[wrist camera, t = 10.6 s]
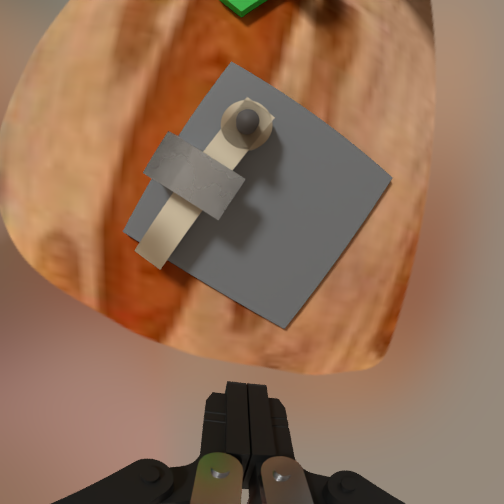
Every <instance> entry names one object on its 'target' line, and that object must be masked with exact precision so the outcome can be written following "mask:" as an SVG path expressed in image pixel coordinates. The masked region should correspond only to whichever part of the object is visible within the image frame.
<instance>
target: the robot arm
mask: <svg viewBox="0 0 504 504" xmlns="http://www.w3.org/2000/svg"><path fill="white" fill-rule="evenodd" d="M242 489H249V499H248V502H247V504H405V503H403V502H402V501H400V500H398V499H397V498H395V497H393V496H392V495H390V494H389V493H387V492H385V491H384V490H382V489H381V488H379V487H377V486H376V485H374V484H373V483H371V482H370V481H368V480H367V479H365V478H364V477H362V476H361V475H359V474H357V473H355V472H352V471H339V472H336V473H335V474H333V475H332V476H331V477H327V476H322V475H317V474H313V473H310V472H308V471H306V470H304V469H303V468H302V467H301V465H300V464H299V463H298V462H297V461H296V460H295V457H294V452H293V447H292V443H291V436H290V431H289V428H288V421H287V415H286V410H285V407H284V406H283V405H282V403H281V402H280V400H279V399H275V398H268V393H267V387H266V385H259V384H249V383H247V385H246V383H238V382H230V381H227V385H226V390H225V394H222V393H215V392H213V393H212V394H211V395H210V396H209V398H208V399H207V400H206V406H205V414H204V423H203V431H202V442H201V451H200V456H199V457H198V458H197V459H196V461H194V462H193V463H191V464H189V465H186V466H181V467H170V468H169V467H168V466H167V465H165V464H164V463H162V462H160V461H158V460H154V459H141V460H138V461H136V462H134V463H132V464H130V465H128V466H126V467H125V468H123V469H121V470H119V471H117V472H115V473H113V474H112V475H110V476H108V477H106V478H104V479H102V480H100V481H98V482H96V483H94V484H92V485H90V486H88V487H86V488H84V489H82V490H80V491H78V492H76V493H74V494H72V495H69V496H67V497H65V498H63V499H60V500H58V501H56V502H54V503H51V504H241V494H242Z"/></svg>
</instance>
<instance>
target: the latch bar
mask: <svg viewBox="0 0 504 504" xmlns="http://www.w3.org/2000/svg"><path fill="white" fill-rule="evenodd" d="M274 118H275V117H274V116H272V115H271V114H270V113H269V112H268V110H267V109H266V108H265V107H264V106H263V105H261V104H260V103H258V102H255V101H252V100H251V99H249V98H248V97H247V98H246V99H245V100H242V101H238V102H236V103H234V104H232V105H231V106H229V107H228V108H227V109H226V111H225V112H224V114H223V116H222V119H221V129H220V131H219V132H218V133H217V134H216V136H215V137H214V138H213V140H212V141H211V142H210V143H209V145H208V146H207V147H206V149H205V150H204V151H203V152H204V153H205V154H207V155H209V156H210V157H212V158H213V159H215V160H217V161H218V162H220V163H221V164H223V165H225V166H226V167H228V168H229V169H231V170H232V171H233V169H234V168H235V167H236V165H237V164H238V163H239V162H240V160H241V159H242V158H243V156H244V155H245V154H246V153H247V151H250V150H254V149H256V148H258V147H260V146H261V145H262V144H264V143H265V142H266V141H267V139H268V138H269V136H270V134H271V132H272V126H273V124H272V121H273V119H274ZM201 212H202V210H201V209H200V208H198V207H197V206H195V205H193V204H192V203H190V202H189V201H187V200H185V199H184V198H182V197H181V196H179V195H178V194H176V193H174V192H173V194H172V195H171V196H170V198H169V199H168V201H167V202H166V204H165V205H164V207H163V208H162V210H161V211H160V212H159V214H158V215H157V217H156V218H155V220H154V221H153V223H152V224H151V226H150V227H149V229H148V231H147V232H146V234H145V235H144V237H143V238H142V240H141V241H140V243H139V244H138V246H137V248H136V249H135V252H137V253H138V254H139V255H141V256H142V257H144V258H145V259H146V260H148V261H149V262H150V263H152V264H153V265H155V266H156V267H157V268H159V269H160V270H161V268H162V267H163V265H164V264H165V262H166V261H167V259H168V258H169V257H170V255H171V254H172V252H173V251H174V249H175V248H176V246H177V245H178V244H179V242H180V241H181V239H182V238H183V237H184V235H185V234H186V232H187V231H188V230H189V228H190V227H191V225H192V224H193V223H194V221H195V220H196V219H197V217H198V216H199V214H200V213H201Z"/></svg>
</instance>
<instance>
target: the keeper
mask: <svg viewBox="0 0 504 504" xmlns="http://www.w3.org/2000/svg"><path fill="white" fill-rule="evenodd" d="M143 173H144V174H146V175H147V176H149V177H150V178H152V179H154V180H155V181H157V182H158V183H160V184H162V185H163V186H165V187H166V188H168V189H170V190H171V191H173V192H174V193H176V194H178V195H179V196H181V197H182V198H184V199H185V200H187V201H189V202H190V203H192V204H193V205H195V206H197V207H198V208H200V209H201V210H203V211H204V212H206V213H208V214H209V215H211V216H212V217H214V218H216V219H217V220H219V219H220V217H221V216H222V214H223V213H224V211H225V210H226V208H227V207H228V205H229V204H230V202H231V200H232V199H233V197H234V196H235V194H236V193H237V191H238V190H239V188H240V187H241V185H242V184H243V182H244V181H245V178H243V177H242V176H240V175H239V174H237V173H235V172H234V171H232V170H231V169H229V168H228V167H226V166H225V165H223V164H221V163H220V162H218V161H217V160H215V159H213V158H212V157H210V156H209V155H207V154H205V153H204V152H202V150H200V149H199V148H197V147H195V146H194V145H192V144H191V143H189V142H187V141H186V140H184V139H182V138H181V137H179V136H177V135H175V134H173V133H171V132H169V131H168V132H167V134H166V136H165V137H164V139H163V140H162V142H161V144H160V145H159V147H158V148H157V150H156V152H155V153H154V155H153V157H152V158H151V160H150V162H149V163H148V165H147V167H146V168H145V170H144V172H143Z"/></svg>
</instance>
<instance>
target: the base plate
mask: <svg viewBox="0 0 504 504" xmlns="http://www.w3.org/2000/svg"><path fill="white" fill-rule="evenodd" d="M247 97H248V98H249V99H251V100H252V101H255V102H258V103H260V104H261V105H263V106H264V107H265V108H266V109H267V110H268V112H269V113H270V114H271V115H272V116H274V117H275V118H274V119H273V121H272V124H273V126H272V132H271V134H270V136H269V138H268V139H267V141H266V142H265V143H264V144H262V145H261V146H260V147H258V148H256V149H254V150H250V151H247V153H246V154H245V155H244V156H243V158H242V159H241V160H240V162H239V163H238V164H237V165H236V167H235V168H234V169H233V171H234V172H235V173H237V174H239V175H240V176H242V177H243V178H245V181H244V182H243V184H242V185H241V187H240V188H239V190H238V191H237V193H236V194H235V196H234V197H233V199H232V200H231V202H230V204H229V205H228V207H227V208H226V210H225V211H224V213H223V214H222V216H221V217H220V219H219V220H217V219H216V218H214V217H212V216H211V215H209V214H208V213H206V212H204V211H203V210H202V212H201V213H200V214H199V216H198V217H197V219H196V220H195V221H194V223H193V224H192V225H191V227H190V228H189V230H188V231H187V232H186V234H185V235H184V237H183V238H182V239H181V241H180V242H179V244H178V245H177V246H176V248H175V249H174V251H173V252H172V254H171V255H170V257H169V258H168V259H167V260H168V261H170V262H171V263H173V264H175V265H176V266H178V267H179V268H181V269H183V270H184V271H186V272H188V273H189V274H191V275H192V276H194V277H196V278H197V279H199V280H201V281H202V282H204V283H206V284H207V285H209V286H211V287H212V288H214V289H216V290H217V291H219V292H221V293H223V294H224V295H226V296H228V297H229V298H231V299H233V300H234V301H236V302H238V303H240V304H241V305H243V306H245V307H247V308H248V309H250V310H252V311H253V312H255V313H257V314H259V315H261V316H262V317H264V318H266V319H268V320H269V321H271V322H273V323H275V324H276V325H278V326H280V327H282V328H284V329H285V327H286V326H287V325H288V324H289V322H290V321H291V320H292V319H293V317H294V316H295V315H296V314H297V312H298V311H299V310H300V308H301V307H302V306H303V304H304V303H305V302H306V301H307V299H308V298H309V297H310V295H311V294H312V293H313V291H314V290H315V289H316V287H317V286H318V285H319V283H320V282H321V281H322V279H323V278H324V277H325V275H326V274H327V273H328V271H329V270H330V268H331V267H332V266H333V264H334V263H335V262H336V260H337V259H338V257H339V256H340V255H341V253H342V252H343V250H344V249H345V248H346V246H347V245H348V243H349V242H350V240H351V239H352V238H353V236H354V235H355V233H356V232H357V230H358V229H359V228H360V226H361V225H362V223H363V222H364V220H365V219H366V217H367V216H368V214H369V213H370V211H371V210H372V208H373V207H374V205H375V204H376V202H377V201H378V199H379V198H380V196H381V195H382V193H383V192H384V190H385V189H386V187H387V186H388V184H389V182H390V181H391V179H392V177H391V176H390V175H389V174H388V173H387V172H386V171H384V170H383V169H382V168H381V167H380V166H379V165H378V164H376V163H375V162H374V161H373V160H372V159H371V158H369V157H368V156H367V155H366V154H365V153H363V152H362V151H361V150H360V149H358V148H357V147H356V146H355V145H353V144H352V143H351V142H350V141H348V140H347V139H346V138H345V137H343V136H342V135H341V134H340V133H338V132H337V131H336V130H334V129H333V128H332V127H330V126H329V125H328V124H326V123H325V122H324V121H322V120H321V119H320V118H318V117H317V116H315V115H314V114H313V113H311V112H310V111H308V110H307V109H306V108H304V107H303V106H301V105H300V104H298V103H297V102H295V101H294V100H292V99H291V98H290V97H288V96H287V95H285V94H284V93H282V92H280V91H279V90H277V89H276V88H274V87H273V86H271V85H270V84H268V83H266V82H265V81H263V80H262V79H260V78H258V77H257V76H255V75H253V74H252V73H250V72H248V71H247V70H245V69H243V68H242V67H240V66H238V65H236V64H235V63H233V62H231V63H230V64H229V65H228V67H227V68H226V69H225V71H224V72H223V73H222V75H221V76H220V77H219V79H218V80H217V81H216V83H215V84H214V85H213V87H212V88H211V89H210V91H209V92H208V94H207V95H206V96H205V98H204V99H203V100H202V102H201V103H200V105H199V106H198V108H197V109H196V110H195V112H194V113H193V115H192V116H191V118H190V119H189V121H188V122H187V124H186V125H185V127H184V128H183V130H182V131H181V133H180V134H179V137H181V138H182V139H184V140H186V141H187V142H189V143H191V144H192V145H194V146H195V147H197V148H199V149H200V150H202V152H203V151H204V150H205V149H206V147H207V146H208V145H209V143H210V142H211V141H212V140H213V138H214V137H215V136H216V134H217V133H218V132H219V131H220V129H221V119H222V116H223V114H224V112H225V111H226V109H227V108H228V107H229V106H231V105H232V104H234V103H236V102H238V101H242V100H245V99H246V98H247ZM172 194H173V191H171V190H170V189H168V188H166V187H165V186H163V185H162V184H160V183H158V182H157V181H155V180H154V179H152V180H151V181H150V183H149V185H148V186H147V188H146V190H145V192H144V193H143V195H142V197H141V199H140V201H139V202H138V204H137V206H136V208H135V210H134V212H133V213H132V215H131V217H130V219H129V221H128V223H127V225H126V227H125V228H124V230H123V232H124V233H126V234H127V235H129V236H130V237H132V238H134V239H135V240H137V241H138V242H140V241H141V240H142V238H143V237H144V235H145V234H146V232H147V231H148V229H149V227H150V226H151V224H152V223H153V221H154V220H155V218H156V217H157V215H158V214H159V212H160V211H161V210H162V208H163V207H164V205H165V204H166V202H167V201H168V199H169V198H170V196H171V195H172Z"/></svg>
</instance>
